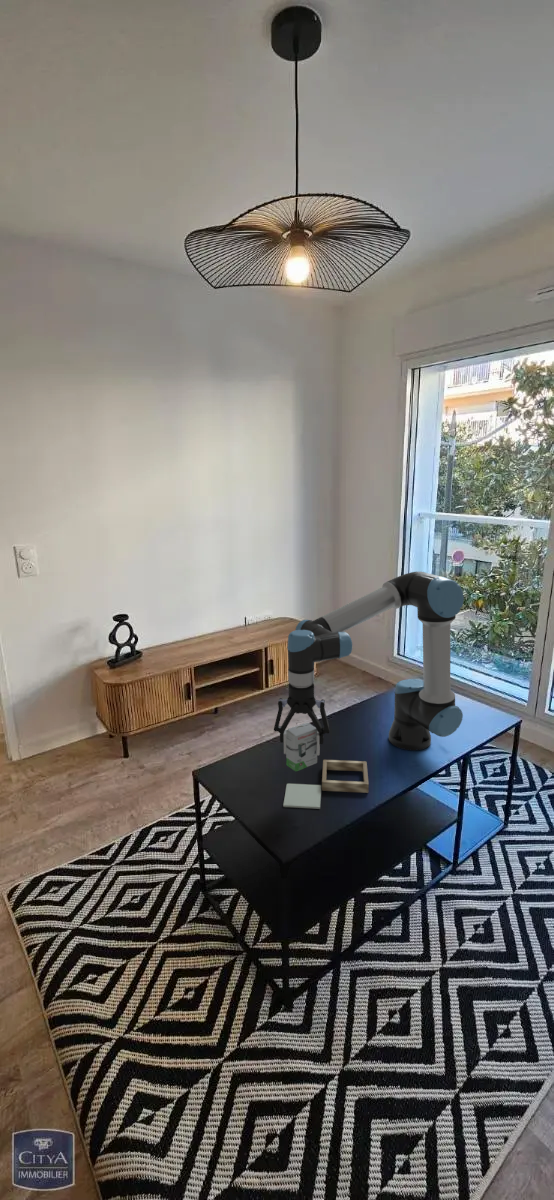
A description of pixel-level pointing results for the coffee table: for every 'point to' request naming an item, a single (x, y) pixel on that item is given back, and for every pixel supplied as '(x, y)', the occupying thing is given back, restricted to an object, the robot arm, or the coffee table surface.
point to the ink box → (301, 746)
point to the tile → (302, 796)
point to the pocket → (345, 785)
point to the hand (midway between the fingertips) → (301, 752)
